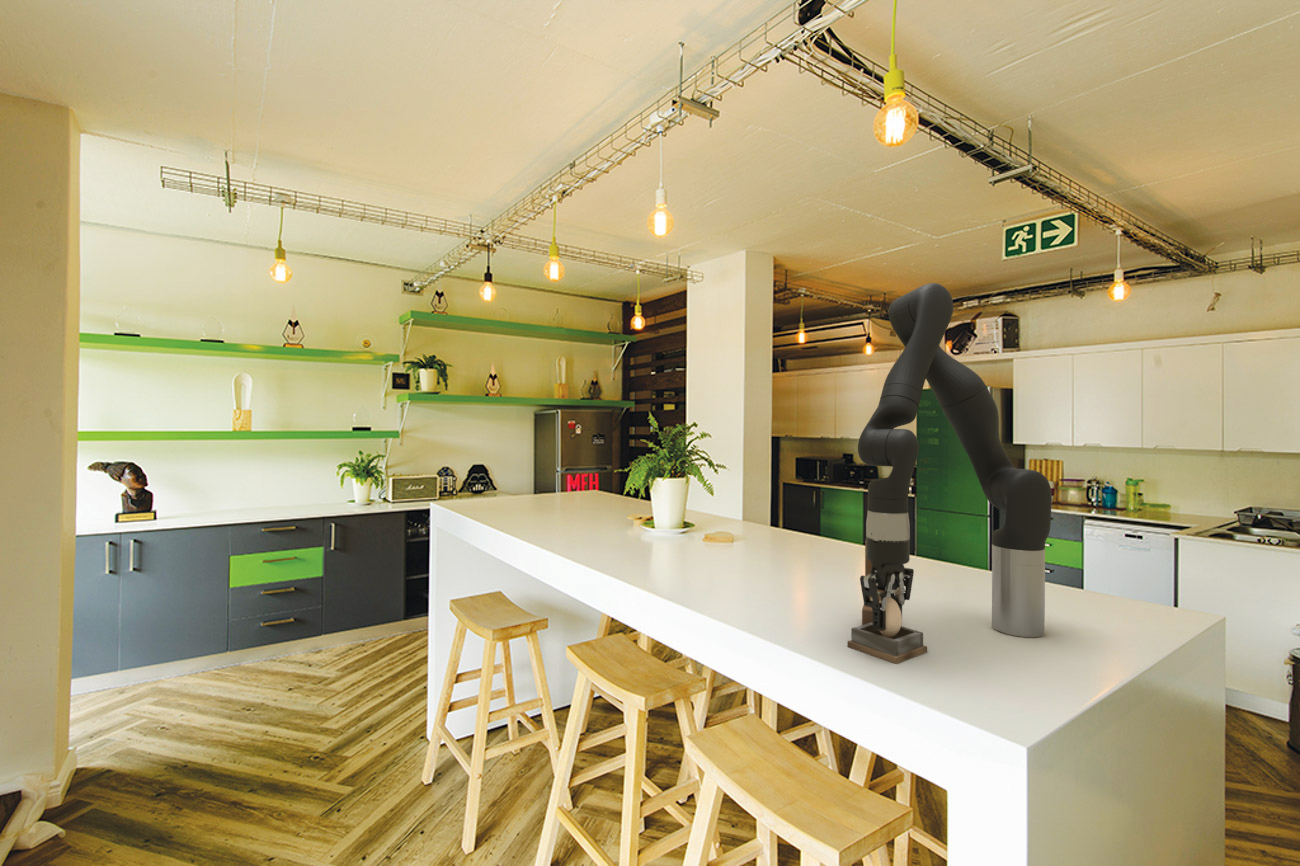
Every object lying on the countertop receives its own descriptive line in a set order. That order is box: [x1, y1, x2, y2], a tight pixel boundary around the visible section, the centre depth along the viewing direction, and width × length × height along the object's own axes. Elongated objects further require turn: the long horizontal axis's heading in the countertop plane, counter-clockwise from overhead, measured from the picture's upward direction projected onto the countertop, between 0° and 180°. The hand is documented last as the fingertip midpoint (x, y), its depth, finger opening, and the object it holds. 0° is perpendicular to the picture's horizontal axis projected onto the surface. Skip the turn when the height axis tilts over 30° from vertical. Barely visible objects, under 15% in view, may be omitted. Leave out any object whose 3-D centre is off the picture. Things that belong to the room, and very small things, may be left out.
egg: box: [879, 597, 903, 637], centre depth 109 cm, size 5×5×7 cm
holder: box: [846, 622, 928, 665], centre depth 109 cm, size 10×10×4 cm
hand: (887, 626), depth 109 cm, fingers closed on egg, 4 cm apart
